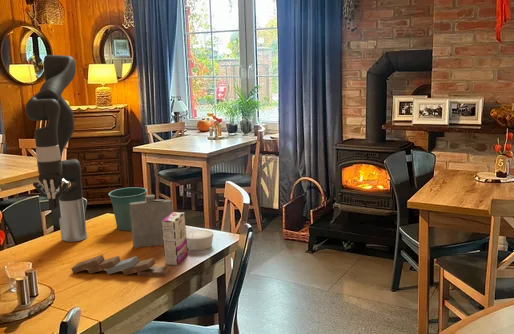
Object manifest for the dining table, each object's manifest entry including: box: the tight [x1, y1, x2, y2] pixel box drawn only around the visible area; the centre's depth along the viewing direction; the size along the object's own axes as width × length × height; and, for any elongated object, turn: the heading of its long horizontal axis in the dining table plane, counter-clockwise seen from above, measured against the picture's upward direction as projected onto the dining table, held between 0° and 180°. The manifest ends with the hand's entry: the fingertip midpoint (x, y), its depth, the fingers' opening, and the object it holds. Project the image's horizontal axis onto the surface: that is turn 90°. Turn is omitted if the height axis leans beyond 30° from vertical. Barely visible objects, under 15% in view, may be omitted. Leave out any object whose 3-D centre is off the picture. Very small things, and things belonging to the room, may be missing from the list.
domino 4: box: [121, 257, 157, 276], centre depth 177 cm, size 2×5×10 cm
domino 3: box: [105, 255, 140, 275], centre depth 178 cm, size 2×5×10 cm
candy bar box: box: [162, 211, 189, 266], centre depth 187 cm, size 11×5×16 cm, turn 168°
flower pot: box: [108, 186, 148, 232], centre depth 229 cm, size 16×16×16 cm
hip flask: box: [130, 194, 173, 249], centre depth 205 cm, size 16×4×20 cm, turn 100°
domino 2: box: [87, 255, 122, 275], centre depth 180 cm, size 2×5×10 cm
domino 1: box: [70, 254, 106, 274], centre depth 181 cm, size 2×5×10 cm
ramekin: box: [186, 229, 214, 252], centre depth 201 cm, size 11×11×5 cm
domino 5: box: [136, 265, 171, 277], centre depth 177 cm, size 2×5×10 cm
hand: (54, 208), depth 178 cm, fingers closed
